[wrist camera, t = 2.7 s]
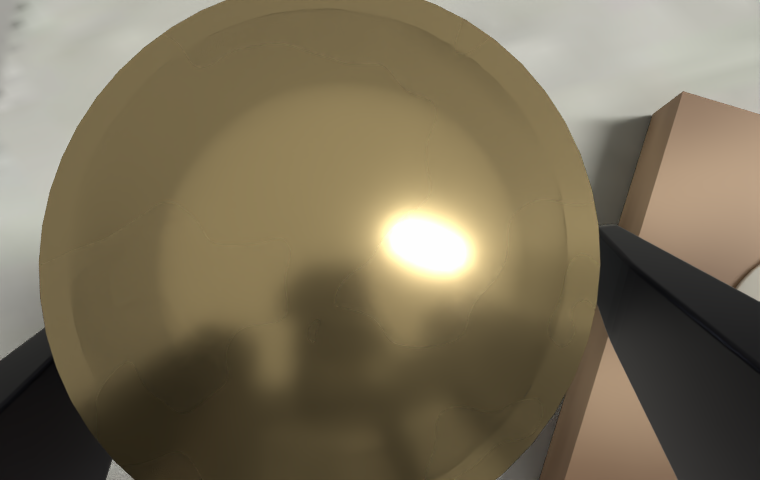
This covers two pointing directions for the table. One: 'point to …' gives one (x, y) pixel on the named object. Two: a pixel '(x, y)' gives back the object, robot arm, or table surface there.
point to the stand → (682, 239)
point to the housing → (319, 249)
